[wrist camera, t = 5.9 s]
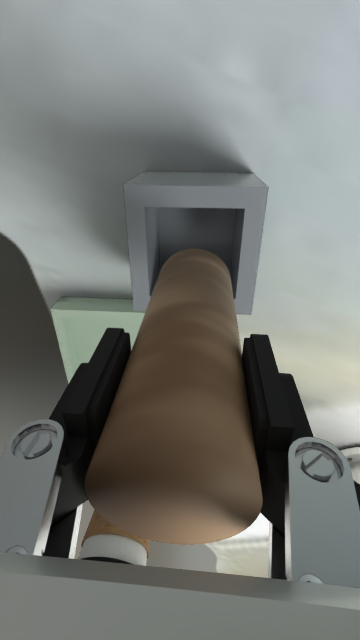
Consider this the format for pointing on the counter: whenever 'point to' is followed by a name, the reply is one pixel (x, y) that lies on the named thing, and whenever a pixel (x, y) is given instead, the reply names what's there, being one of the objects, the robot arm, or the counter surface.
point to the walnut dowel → (181, 417)
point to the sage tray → (90, 326)
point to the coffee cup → (112, 544)
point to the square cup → (195, 226)
